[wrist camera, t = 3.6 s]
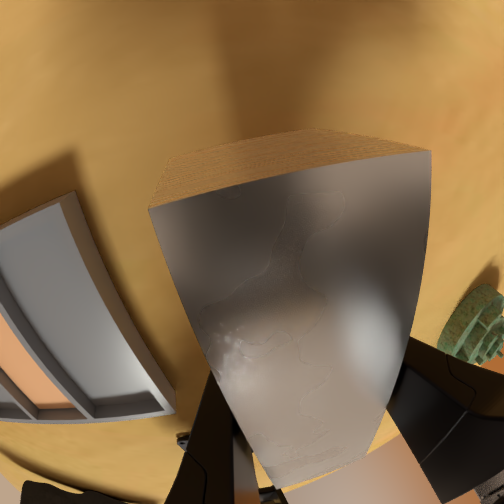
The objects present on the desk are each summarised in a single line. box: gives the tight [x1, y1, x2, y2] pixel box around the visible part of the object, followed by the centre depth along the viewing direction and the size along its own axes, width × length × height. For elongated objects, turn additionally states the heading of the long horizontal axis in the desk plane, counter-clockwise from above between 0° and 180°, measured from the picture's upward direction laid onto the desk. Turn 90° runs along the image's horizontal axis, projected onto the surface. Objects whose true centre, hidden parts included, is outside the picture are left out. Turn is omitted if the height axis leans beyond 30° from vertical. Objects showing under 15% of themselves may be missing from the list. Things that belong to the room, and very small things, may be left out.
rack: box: [0, 191, 177, 424], centre depth 12 cm, size 15×20×3 cm
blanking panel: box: [148, 128, 431, 489], centre depth 8 cm, size 12×4×4 cm, turn 11°
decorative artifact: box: [437, 284, 504, 365], centre depth 22 cm, size 10×7×10 cm
